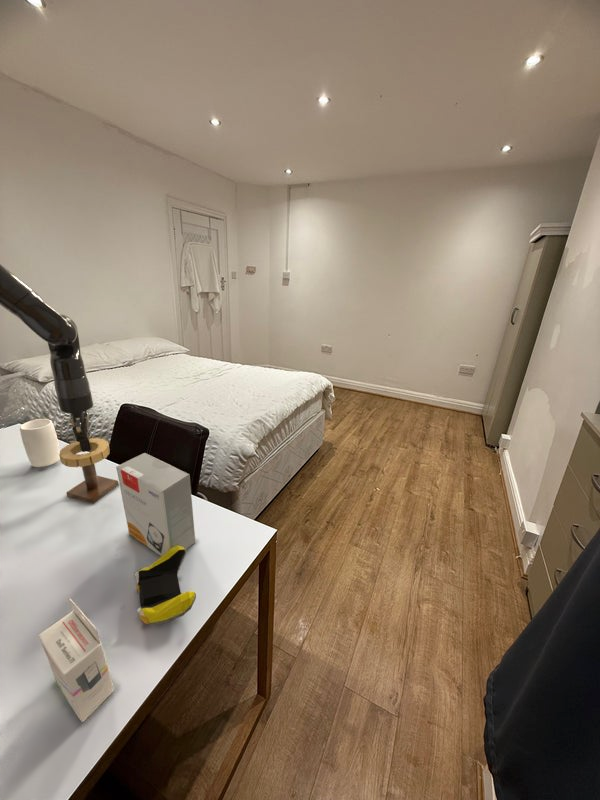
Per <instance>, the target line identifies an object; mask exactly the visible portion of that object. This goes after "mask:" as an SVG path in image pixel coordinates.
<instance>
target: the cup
mask: <svg viewBox="0 0 600 800" xmlns="http://www.w3.org/2000/svg"><path fill="white" fill-rule="evenodd" d="M19 431H20V436H21V437H20V438H21V441H22V444H23V448H24V450H25V453H26V456H27V458H28V461H29V464H30V465H31V466H32V467H37V468H41V467H49V466H50V465H53V464H55V463H57V462H58V461H61V460H60V456H59V454H60V450H61V448H60V445H59V439H58V435H57V431H56V429H55V426H54V424H53V421H52V420H51V419H48V418H37V419H32V420H29V421H26V422H24V423H22V424H21V425H20V426H19Z"/></svg>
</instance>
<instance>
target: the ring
mask: <svg viewBox="0 0 600 800" xmlns="http://www.w3.org/2000/svg"><path fill="white" fill-rule="evenodd" d="M89 443H90V447H91V450H92V451H91V450H90V451H89V452H87V453H86V452H85V453H82V451H81V447H80V443H79V442H77V441H73V442H71V443H69V444H66V446H63V447H62V448H60V454H59V456H60V460H59V461H60V463H61V464H62V465H63V466H65V467H68V468H82V467H83V466H88V465H91V463H92V464H97V463H99V462H101V461H103V460H105V459H106V458H107V457H109V456H110V454H111V453H110V451H111V449H110V445H109V441H108V440H106V439H104V438H99V437H98V438H97V437H95V438H94V437H92V438H91V437H90V439H89ZM79 453H81V454H79Z"/></svg>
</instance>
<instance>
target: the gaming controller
mask: <svg viewBox="0 0 600 800" xmlns="http://www.w3.org/2000/svg"><path fill="white" fill-rule="evenodd" d="M186 555H187V550H185V549H184V548H183V547H182V546H179V545H178V546H175V547H173V548H171V549H170V550H168V551H167V552H166V553H165V554H164V555H163V556H160V557H159V558H157V559H156V560H155V561H154V562H153V563H152V564H150V565H149V566H147V567H142V568H140V569H139V570H138V571H136V572H135V573H134V577H135V578H136V580H137V583H136V589H137V593H139V604H140V606H139V607H138V608H137V609H136V611H137V613H138V616H139V619H140V620H141V621H142V623H144V624H146V625H150V626H154V625H161V624H166V623H169V622H171V621H174V620H176V619H179V618H181V617H184V615H186V614H187V613H188V612H189V611H190V610H191V609H192V608H193V605H194V603H195V601H196V598H197V593H196V592H195V591H193V590H187V591H185V592H181V591H182V590H181V587H180V582H179V581H180V580H179V576H178V575H179V571H180V569H181V566H182V564H183V562H184V559H185V557H186Z"/></svg>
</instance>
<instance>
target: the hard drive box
mask: <svg viewBox="0 0 600 800" xmlns="http://www.w3.org/2000/svg"><path fill="white" fill-rule="evenodd" d="M115 468H116V473H117V479H118V484H119V488H120V493H121V494H120V495H121V498H122V499H121V500H122V504H123V508H124V509H123V510H124V515H125V519H126V520H125V521H126V525H127V529H128V535H130V536H131V537H133V538H134V539H135V540H137V541H138V542H140V543H142V544H143V545H144V546H145V547H147V548H149V549H150V550H152V551H153V552H155V553H156V554H157V555H159V556H160V557H161V556H163V555H164V554H165V553H166V552H167V551H168V550H170V549H171V548H173V547H175V546H178V545H179V546H182V547H183V548H184V549H185V551H187V550H188V549H189V548H190V547H192V546H193V545H194V544H195V543H196V533H195V522H194V521H195V520H194V509H193V499H192V497H193V496H192V487H191V476H190V473H187V472H186V471H183V470H181V469H179V468H177V467H175V466H173V465H171V464H169V463H167V462H165V461H163V460H160V459H159V458H156V457H154V456H153V455H150V454H148V453H146V452H144V453H143V452H142V453H141V454H139V455H137V456H135V457H133V458H130V459H129V460H126V461H125V462H122V463H121V464H119V465H117V466H115Z"/></svg>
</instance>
